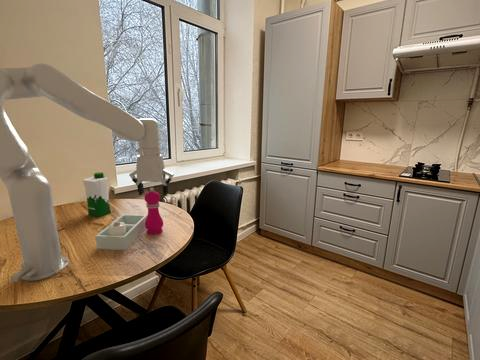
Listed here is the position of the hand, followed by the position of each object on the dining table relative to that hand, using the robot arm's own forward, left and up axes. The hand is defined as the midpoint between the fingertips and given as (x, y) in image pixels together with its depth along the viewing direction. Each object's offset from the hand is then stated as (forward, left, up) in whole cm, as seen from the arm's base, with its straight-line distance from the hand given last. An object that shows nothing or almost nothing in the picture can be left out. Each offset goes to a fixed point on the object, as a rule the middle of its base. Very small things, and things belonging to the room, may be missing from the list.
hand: (153, 194), depth 104 cm
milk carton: (+19, +35, -17) cm, 43 cm away
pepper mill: (0, 0, -17) cm, 17 cm away
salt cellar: (-10, +11, -16) cm, 22 cm away
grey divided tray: (-5, +11, -17) cm, 21 cm away
